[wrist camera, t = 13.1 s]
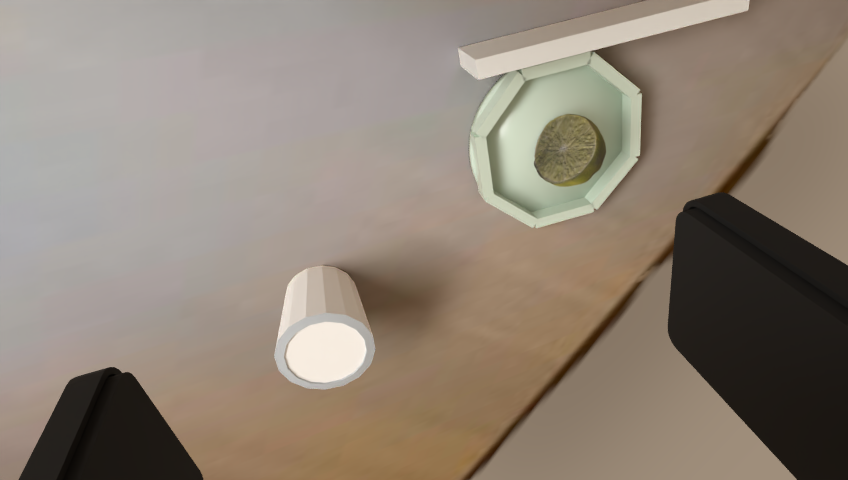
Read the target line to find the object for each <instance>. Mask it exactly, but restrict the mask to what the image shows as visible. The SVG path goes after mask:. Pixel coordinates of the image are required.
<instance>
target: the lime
mask: <svg viewBox="0 0 848 480" xmlns="http://www.w3.org/2000/svg"><path fill="white" fill-rule="evenodd" d="M605 155H606V145H605V141H604V139H603V136H602V134H601V133H600V131H599V129H598V127H597V126H596V125H595V124H594V123H593V122H592V121H591V120H589V119H588V118H586V117H584V116H580V115H575V114H566V115H562V116H559V117H556V118H554V119H553V120H551V121H550V122H549V123H548V124H547V125H546V126H545V127H544V129H543V131H542V132H541V134H540V136H539V138H538V140H537V144H536V147H535V155H534V158H535V161H534V166H535V168H536V170H537V173H538V174H539V176H540V177H541V178H543V179H544V180H545V181H547V182H549V183H551V184H553V185H556V186H560V187H568V186H574V185H579V184H583V183H585V182H587V181H588V180H590V179H591V177H592V176H593V175H594V174H595V173H596V172H597V171H599V170H600V168H601V166H602V164H603V160H604V158H605Z"/></svg>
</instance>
